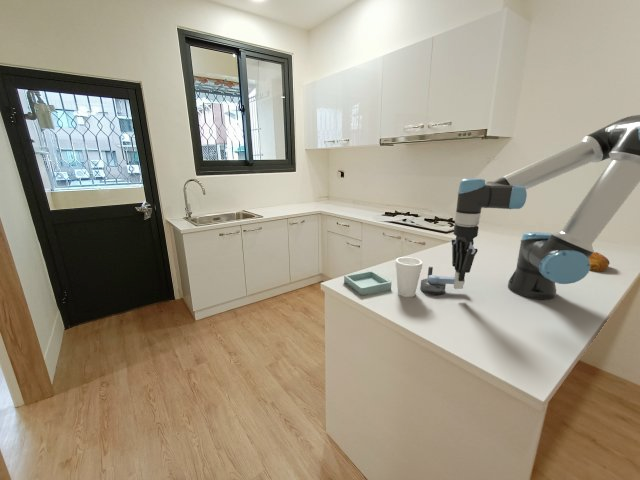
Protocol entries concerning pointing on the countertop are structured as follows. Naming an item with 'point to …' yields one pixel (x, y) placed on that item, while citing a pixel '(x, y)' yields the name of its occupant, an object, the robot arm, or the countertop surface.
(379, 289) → the tray
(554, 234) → the robot arm
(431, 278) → the crank
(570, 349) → the countertop surface
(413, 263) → the foam cup
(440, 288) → the crank base
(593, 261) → the croissant
